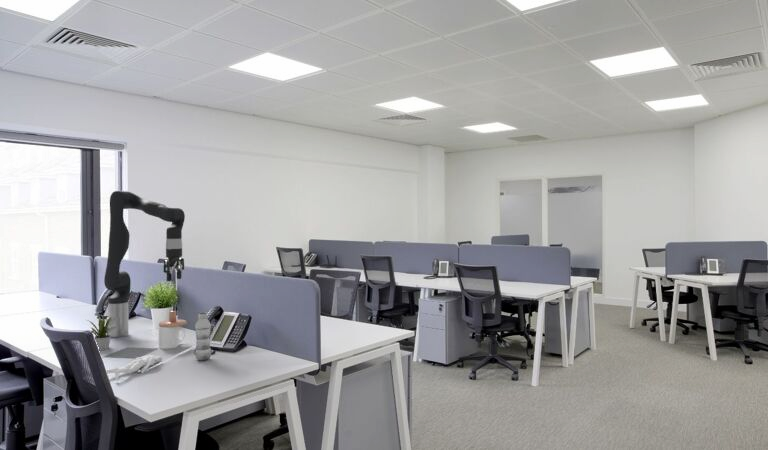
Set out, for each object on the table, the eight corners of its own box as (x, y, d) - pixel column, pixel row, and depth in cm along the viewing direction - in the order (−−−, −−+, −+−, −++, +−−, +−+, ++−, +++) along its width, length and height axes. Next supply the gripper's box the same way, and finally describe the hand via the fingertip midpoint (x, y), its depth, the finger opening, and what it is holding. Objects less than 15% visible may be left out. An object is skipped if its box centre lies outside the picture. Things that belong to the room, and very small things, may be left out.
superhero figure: (120, 386, 176) (171, 367, 200) (121, 370, 176) (172, 353, 200) (97, 379, 180) (149, 361, 204) (98, 363, 180) (151, 348, 203)
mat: (102, 358, 207) (102, 357, 207) (127, 348, 222) (127, 347, 222) (136, 360, 204) (136, 358, 204) (158, 350, 220) (158, 348, 220)
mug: (189, 346, 227) (188, 323, 227) (163, 351, 218) (163, 328, 218) (180, 343, 233) (180, 321, 233) (155, 348, 224) (155, 325, 224)
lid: (153, 326, 221) (153, 313, 221) (168, 321, 233) (168, 308, 233) (177, 327, 219) (177, 314, 219) (191, 322, 231) (191, 309, 231)
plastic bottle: (214, 358, 207) (214, 312, 207) (203, 362, 201) (203, 315, 201) (202, 356, 210) (202, 311, 209) (191, 361, 203) (191, 314, 203)
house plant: (129, 348, 224) (128, 313, 224) (100, 355, 211) (100, 318, 211) (109, 344, 230) (108, 310, 230) (80, 351, 217) (80, 316, 217)
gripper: (175, 246, 247) (175, 278, 247) (158, 248, 232) (158, 281, 233) (188, 247, 246) (188, 278, 246) (172, 248, 231) (172, 282, 232)
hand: (174, 279), depth 239 cm, fingers open, 8 cm apart
